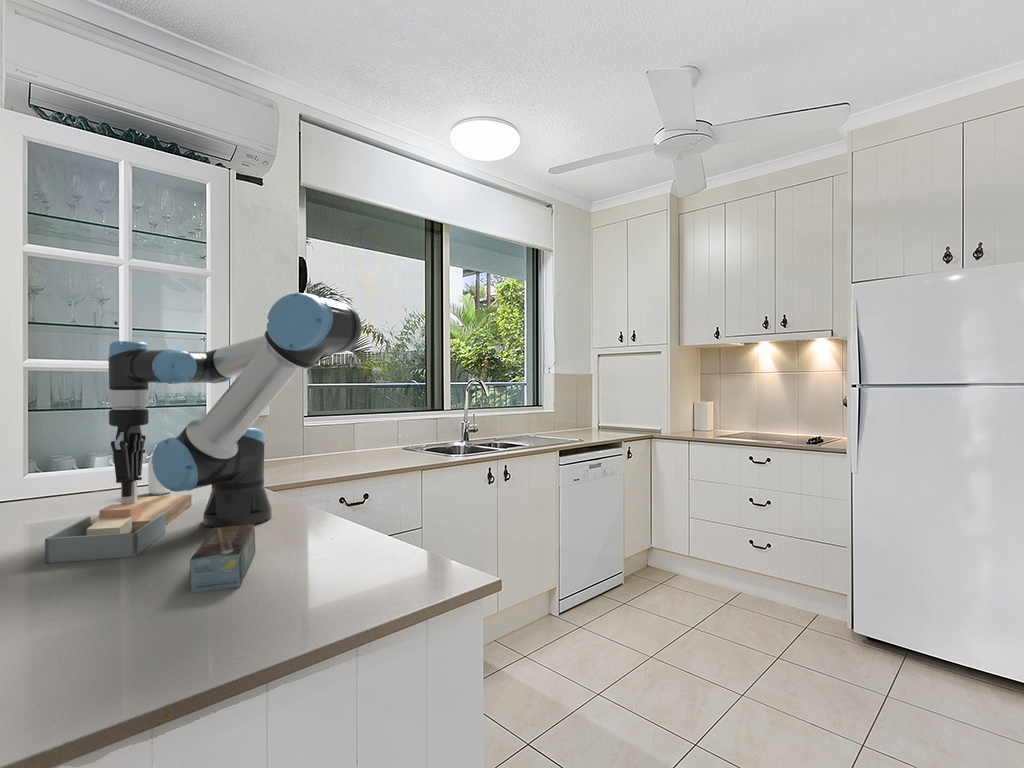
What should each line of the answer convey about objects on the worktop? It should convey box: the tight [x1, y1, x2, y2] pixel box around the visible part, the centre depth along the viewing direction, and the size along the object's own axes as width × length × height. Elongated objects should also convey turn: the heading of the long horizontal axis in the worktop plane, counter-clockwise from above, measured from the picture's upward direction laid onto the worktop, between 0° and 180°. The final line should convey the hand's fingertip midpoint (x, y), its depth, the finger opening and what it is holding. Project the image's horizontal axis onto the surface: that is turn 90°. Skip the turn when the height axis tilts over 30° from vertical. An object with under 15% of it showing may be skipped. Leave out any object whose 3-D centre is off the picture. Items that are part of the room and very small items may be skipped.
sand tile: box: [87, 517, 132, 536], centre depth 117 cm, size 6×6×3 cm
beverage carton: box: [189, 524, 256, 593], centre depth 99 cm, size 8×19×7 cm, turn 18°
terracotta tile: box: [98, 503, 142, 522], centre depth 123 cm, size 6×6×3 cm
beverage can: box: [147, 453, 171, 496], centre depth 165 cm, size 6×6×12 cm
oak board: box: [91, 494, 192, 532], centre depth 134 cm, size 14×28×3 cm, turn 16°
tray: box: [44, 513, 166, 564], centre depth 113 cm, size 15×17×5 cm
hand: (129, 509), depth 126 cm, fingers closed
